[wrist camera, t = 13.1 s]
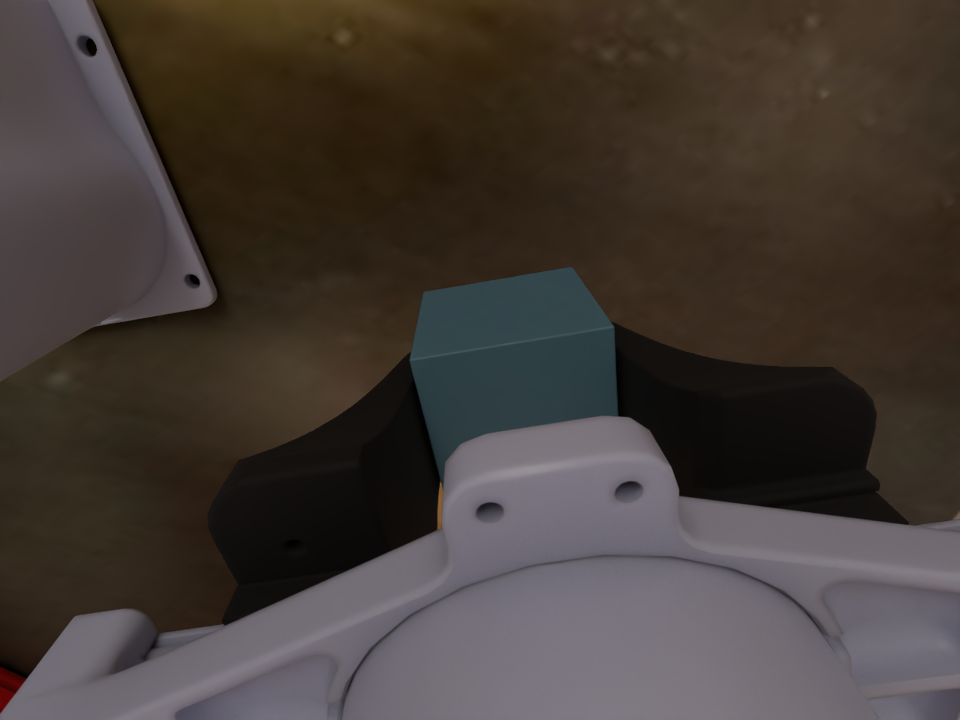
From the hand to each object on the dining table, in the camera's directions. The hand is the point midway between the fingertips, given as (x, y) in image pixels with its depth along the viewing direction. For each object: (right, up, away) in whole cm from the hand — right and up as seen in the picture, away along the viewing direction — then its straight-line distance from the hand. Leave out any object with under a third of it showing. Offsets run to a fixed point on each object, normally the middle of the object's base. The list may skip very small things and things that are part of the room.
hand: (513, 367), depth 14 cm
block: (0, +1, +1) cm, 1 cm away
